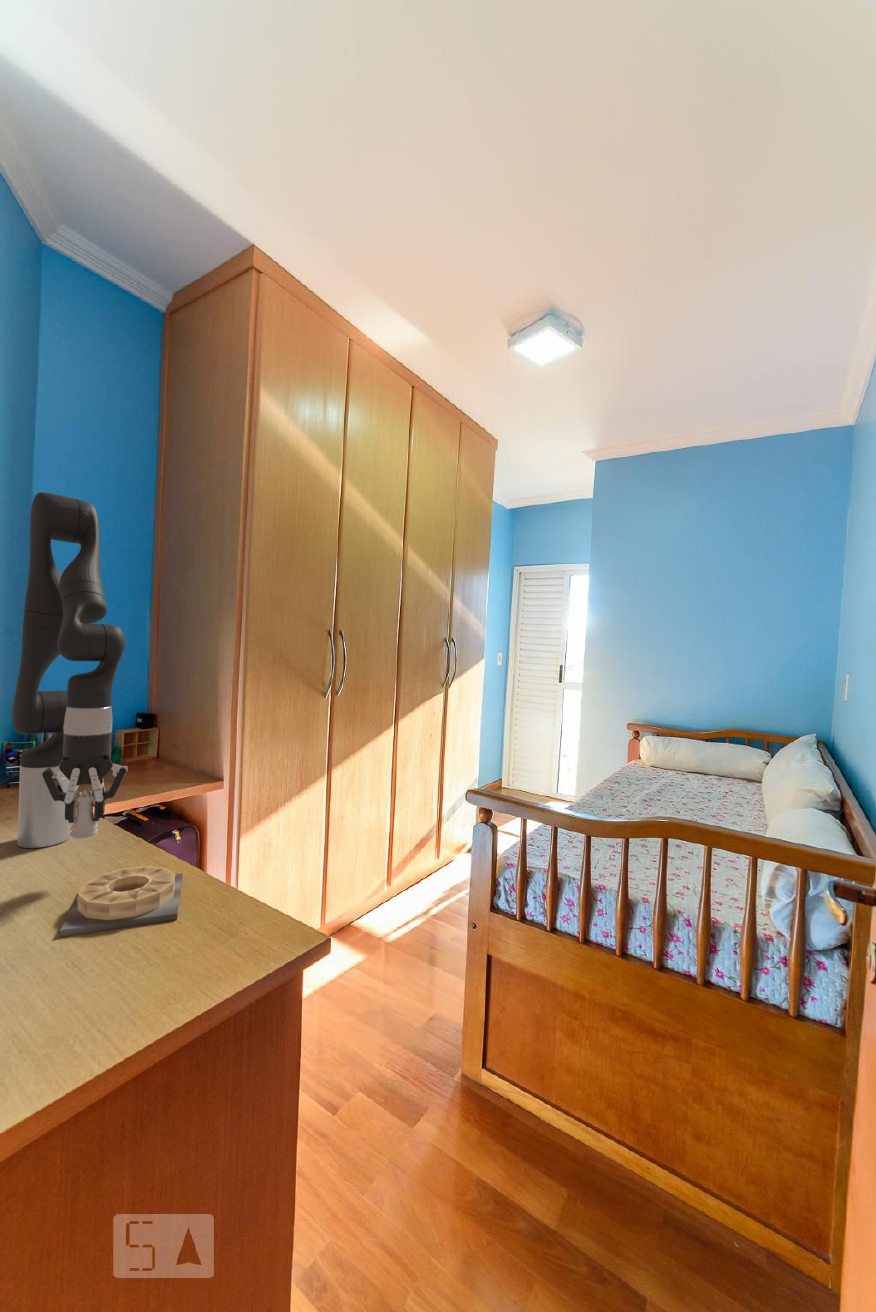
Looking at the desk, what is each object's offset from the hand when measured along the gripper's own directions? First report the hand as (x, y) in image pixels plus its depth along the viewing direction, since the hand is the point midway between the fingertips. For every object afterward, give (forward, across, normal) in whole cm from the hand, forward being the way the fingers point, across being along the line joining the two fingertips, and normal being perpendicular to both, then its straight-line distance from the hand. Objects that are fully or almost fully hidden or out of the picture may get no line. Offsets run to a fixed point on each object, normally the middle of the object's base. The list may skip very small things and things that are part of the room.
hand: (84, 820), depth 99 cm
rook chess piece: (+3, 0, 0) cm, 3 cm away
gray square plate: (+11, -9, +14) cm, 20 cm away
